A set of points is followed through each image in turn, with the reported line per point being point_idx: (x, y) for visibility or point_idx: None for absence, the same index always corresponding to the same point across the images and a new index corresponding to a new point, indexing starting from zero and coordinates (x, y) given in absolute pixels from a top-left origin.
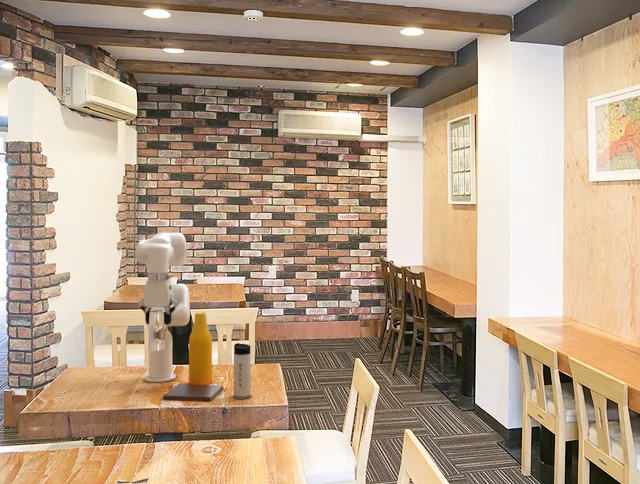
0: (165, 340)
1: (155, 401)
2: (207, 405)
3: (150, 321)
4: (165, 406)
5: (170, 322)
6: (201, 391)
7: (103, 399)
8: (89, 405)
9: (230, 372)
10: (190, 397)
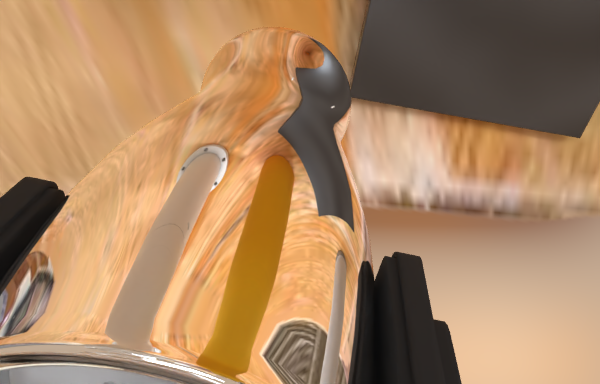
0: (339, 136)
1: None
2: (551, 186)
3: (125, 380)
4: (375, 183)
5: (420, 266)
6: (546, 33)
7: (74, 65)
8: (69, 145)
9: None
10: (481, 118)
